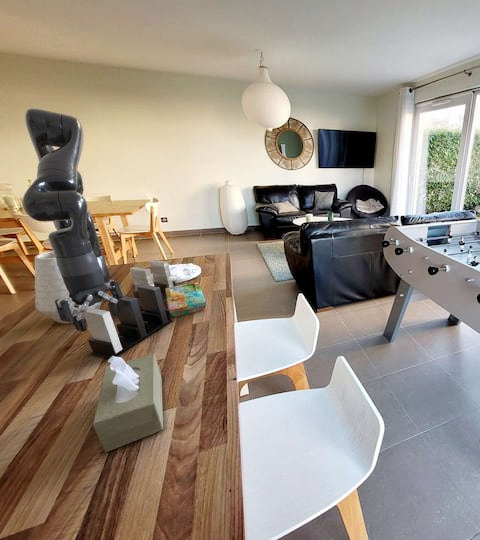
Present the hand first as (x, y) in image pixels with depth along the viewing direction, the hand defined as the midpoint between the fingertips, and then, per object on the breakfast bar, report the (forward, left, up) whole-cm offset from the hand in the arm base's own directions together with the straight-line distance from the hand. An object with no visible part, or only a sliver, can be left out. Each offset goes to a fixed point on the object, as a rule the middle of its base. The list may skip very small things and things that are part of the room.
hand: (100, 322), depth 81 cm
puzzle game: (-1, +30, -10) cm, 32 cm away
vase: (-30, +12, -11) cm, 34 cm away
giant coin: (-25, +50, -11) cm, 57 cm away
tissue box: (+26, -14, -11) cm, 31 cm away
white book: (0, 0, -9) cm, 9 cm away
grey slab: (-16, +27, -10) cm, 33 cm away
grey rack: (0, +8, -10) cm, 13 cm away
